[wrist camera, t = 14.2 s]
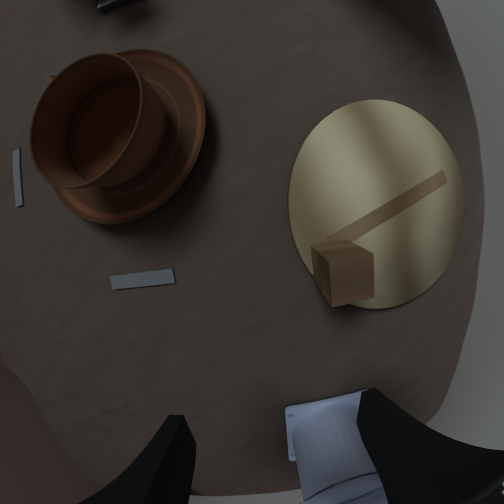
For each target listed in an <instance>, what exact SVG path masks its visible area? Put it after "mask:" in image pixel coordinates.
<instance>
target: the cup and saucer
mask: <svg viewBox="0 0 504 504" xmlns="http://www.w3.org/2000/svg"><path fill="white" fill-rule="evenodd" d="M46 82H47V83H48V87H47V88H46V89H45V91H44V93H43V94H42V96H41V98H40V100H39V102H38V104H37V106H36V109H35V112H34V115H33V118H32V122H31V128H30V151H31V156H32V160H33V163H34V165H35V167H36V169H37V171H38V172H39V174H40V175H41V176H42V177H43V178H44V179H45V180H46V181H47V182H48V183H50V184H52V186H53V188H54V190H55V192H56V194H57V196H58V197H59V199H60V200H61V201H62V202H63V204H64V205H65V206H66V207H67V208H68V209H69V210H71V211H72V212H73V213H74V214H76V215H78V216H79V217H81V218H83V219H85V220H88V221H91V222H94V223H99V224H109V225H110V224H121V223H127V222H130V221H134V220H136V219H139V218H141V217H143V216H145V215H147V214H149V213H151V212H152V211H154V210H156V209H157V208H159V207H160V206H161V205H162V204H164V203H165V202H166V201H167V200H168V199H169V198H170V197H171V196H173V194H174V193H175V192H176V191H177V190H178V189H179V188H180V186H181V185H182V184H183V182H184V181H185V180H186V178H187V177H188V175H189V173H190V172H191V170H192V168H193V166H194V164H195V162H196V160H197V158H198V155H199V153H200V149H201V146H202V143H203V138H204V134H205V125H206V112H205V103H204V98H203V95H202V92H201V89H200V86H199V84H198V82H197V80H196V79H195V77H194V75H193V74H192V73H191V72H190V70H189V69H188V68H187V67H186V66H185V65H184V64H183V63H181V62H180V61H179V60H177V59H176V58H174V57H172V56H170V55H168V54H166V53H163V52H159V51H156V50H149V49H133V50H126V51H122V52H118V53H115V54H112V53H96V54H91V55H88V56H85V57H83V58H80V59H78V60H76V61H75V62H73V63H71V64H70V65H69V66H67V67H66V68H65V69H63V70H62V71H61V72H60V73H59V74H58V75H57V76H54V75H48V76H47V77H46Z"/></svg>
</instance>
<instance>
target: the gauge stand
mask: <svg viewBox="0 0 504 504" xmlns="http://www.w3.org/2000/svg"><path fill="white" fill-rule="evenodd" d="M133 1H136V0H99V2H98V7H97V8H98V10H99V11H100V12H101V13H104V12H106V11H109V10H111V9H114V8H117V7H119V6H122V5H125V4H127V3H130V2H133Z"/></svg>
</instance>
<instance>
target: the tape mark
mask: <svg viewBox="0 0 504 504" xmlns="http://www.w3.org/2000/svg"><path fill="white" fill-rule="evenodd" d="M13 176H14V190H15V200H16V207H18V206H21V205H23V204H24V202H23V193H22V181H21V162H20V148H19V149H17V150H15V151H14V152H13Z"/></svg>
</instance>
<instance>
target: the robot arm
mask: <svg viewBox="0 0 504 504" xmlns="http://www.w3.org/2000/svg"><path fill="white" fill-rule="evenodd" d="M285 418H286V430H287V443H288V455H289V460H290V461H296V462H297V467H298V473H299V478H300V483H301V489H302V494H303V500H304V502H303V503H300V504H504V495H503V494H502V491H503V490H504V487H503V485H502V483H503V482H504V451H503V450H493V449H486V448H481V447H477V446H473V445H469V444H466V443H463V442H460V441H457V440H454V439H452V438H449V437H447V436H445V435H442V434H441V433H439V432H436V431H435V430H433V429H431V428H429V427H428V426H426V425H424V424H423V423H421V422H420V421H418V420H417V419H415V418H414V417H412V416H411V415H409V414H408V413H407V412H405V411H404V410H402V409H401V408H400V407H398V406H397V405H396V404H395V403H393V402H392V401H391V400H390V399H388V398H387V397H386V396H385V395H383V394H382V393H381V392H380V391H379V390H377V389H376V388H372V389H366V390H362V391H358V392H355V393H351V394H347V395H343V396H338V397H334V398H330V399H325V400H320V401H315V402H310V403H304V404H299V405H293V406H288V407H286V409H285ZM195 460H196V442H195V440H194V438H193V435H192V433H191V431H190V429H189V427H188V424H187V422H186V420H185V417H184V415H169V416H168V417H167V418H166V420H165V421H164V423H163V424H162V425H161V427H160V428H159V430H158V431H157V432H156V434H155V435H154V437H153V438H152V439H151V441H150V442H149V443H148V444H147V446H146V447H145V448H144V449H143V451H142V452H141V453H140V454H139V455H138V456H137V458H136V459H135V460H134V461H133V462H132V463H131V464H130V465H129V466H128V467H127V468H126V469H125V470H124V471H123V472H122V473H121V474H120V475H119V476H118V477H117V478H116V479H114V480H113V481H112V482H111V483H109V484H108V485H107V486H106V487H104V488H103V489H102V490H100V491H99V492H97V493H95V494H94V495H92V496H90V497H89V498H87V499H85V500H83V501H82V502H80V503H78V504H188V501H189V496H190V490H191V485H192V479H193V474H194V468H195Z"/></svg>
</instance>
